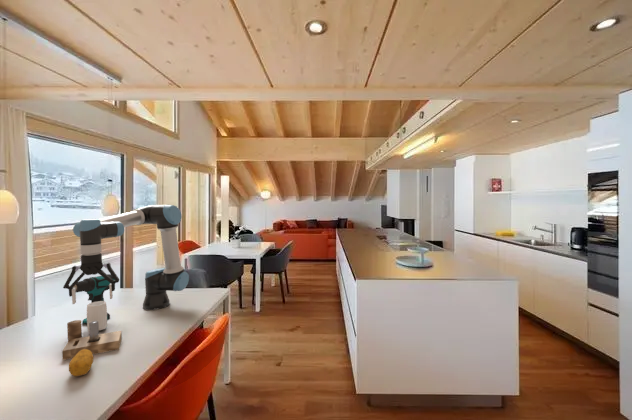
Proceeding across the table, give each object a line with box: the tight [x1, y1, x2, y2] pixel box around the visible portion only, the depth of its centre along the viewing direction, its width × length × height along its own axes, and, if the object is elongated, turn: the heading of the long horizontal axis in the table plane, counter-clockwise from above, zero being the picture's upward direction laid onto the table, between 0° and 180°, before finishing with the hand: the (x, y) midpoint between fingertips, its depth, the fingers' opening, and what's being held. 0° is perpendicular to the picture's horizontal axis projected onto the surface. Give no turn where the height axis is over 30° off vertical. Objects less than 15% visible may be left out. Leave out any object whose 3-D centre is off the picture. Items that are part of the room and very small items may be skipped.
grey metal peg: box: [88, 321, 100, 342], centre depth 138 cm, size 3×3×12 cm
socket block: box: [61, 330, 123, 361], centre depth 138 cm, size 20×12×4 cm, turn 118°
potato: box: [68, 349, 94, 377], centre depth 119 cm, size 7×14×7 cm, turn 25°
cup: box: [86, 300, 108, 332], centre depth 158 cm, size 8×8×14 cm
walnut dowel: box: [66, 319, 83, 342], centre depth 144 cm, size 5×5×10 cm
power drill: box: [73, 273, 114, 325], centre depth 169 cm, size 26×9×25 cm, turn 168°
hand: (93, 300), depth 138 cm, fingers open, 13 cm apart
